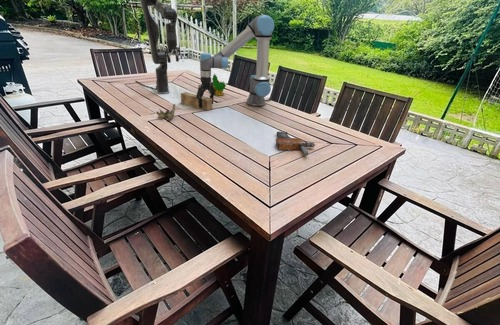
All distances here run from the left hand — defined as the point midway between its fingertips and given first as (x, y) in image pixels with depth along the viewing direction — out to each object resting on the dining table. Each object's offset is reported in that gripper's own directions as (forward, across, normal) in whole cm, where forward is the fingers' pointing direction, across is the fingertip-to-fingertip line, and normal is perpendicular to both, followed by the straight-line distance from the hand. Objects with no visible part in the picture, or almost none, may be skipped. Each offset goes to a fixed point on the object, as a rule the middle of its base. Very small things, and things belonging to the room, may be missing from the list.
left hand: (173, 62), depth 203 cm
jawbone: (+29, +38, +30) cm, 56 cm away
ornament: (+29, -36, +19) cm, 49 cm away
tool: (+29, +24, +118) cm, 124 cm away
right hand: (+26, +5, +36) cm, 45 cm away
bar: (+29, +5, +26) cm, 39 cm away
